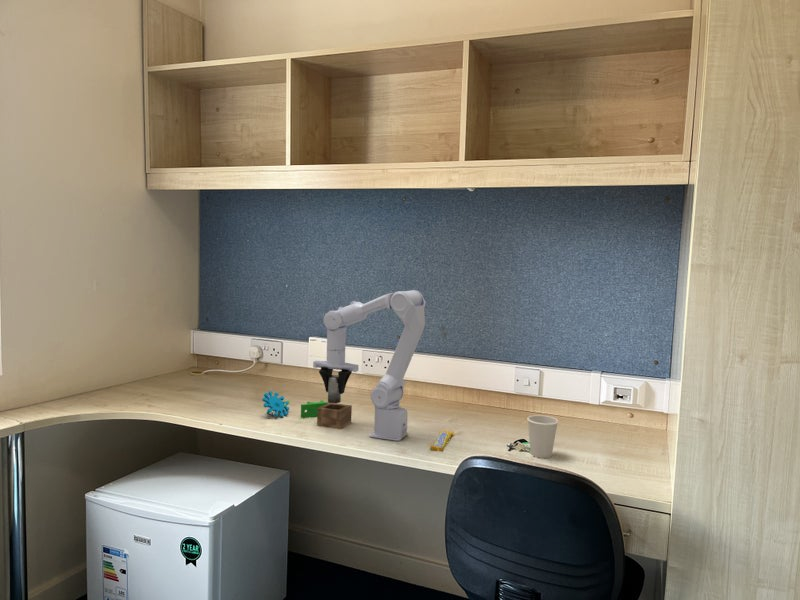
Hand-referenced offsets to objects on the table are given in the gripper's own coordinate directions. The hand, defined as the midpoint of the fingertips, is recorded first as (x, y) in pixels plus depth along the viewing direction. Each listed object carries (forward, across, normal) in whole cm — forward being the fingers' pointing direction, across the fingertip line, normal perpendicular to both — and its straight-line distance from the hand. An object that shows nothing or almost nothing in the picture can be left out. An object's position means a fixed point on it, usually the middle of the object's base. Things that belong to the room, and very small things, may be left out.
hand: (335, 392), depth 187 cm
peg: (+3, 0, 0) cm, 3 cm away
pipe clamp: (+11, +10, -8) cm, 17 cm away
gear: (+11, +22, -3) cm, 25 cm away
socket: (+10, +1, -1) cm, 11 cm away
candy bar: (+11, -35, +2) cm, 37 cm away
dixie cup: (+10, -63, +1) cm, 64 cm away
